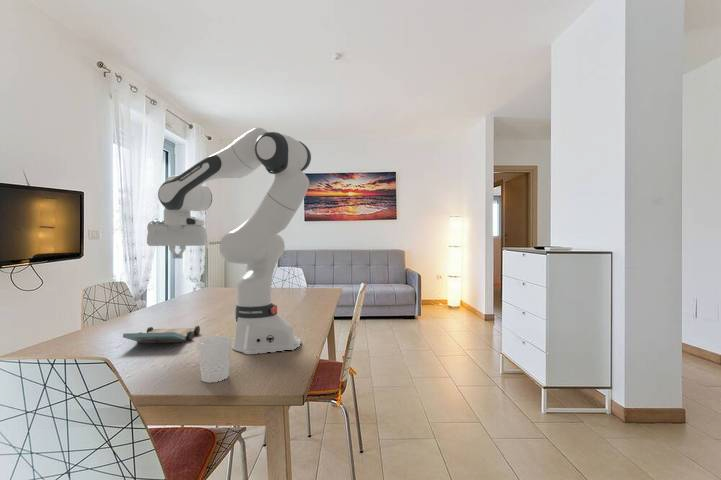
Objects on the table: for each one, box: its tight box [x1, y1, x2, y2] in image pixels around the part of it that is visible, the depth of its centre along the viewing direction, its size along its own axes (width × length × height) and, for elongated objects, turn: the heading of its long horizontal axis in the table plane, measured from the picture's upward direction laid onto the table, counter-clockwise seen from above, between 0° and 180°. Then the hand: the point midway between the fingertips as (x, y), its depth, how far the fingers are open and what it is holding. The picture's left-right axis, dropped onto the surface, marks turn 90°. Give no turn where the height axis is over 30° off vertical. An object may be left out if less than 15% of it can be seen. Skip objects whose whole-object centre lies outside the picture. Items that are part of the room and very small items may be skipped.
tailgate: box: [122, 332, 186, 343], centre depth 125 cm, size 16×2×10 cm
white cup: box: [197, 335, 232, 384], centre depth 97 cm, size 8×8×10 cm
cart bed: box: [137, 325, 201, 344], centre depth 136 cm, size 18×12×3 cm, turn 96°
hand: (177, 258), depth 136 cm, fingers closed
